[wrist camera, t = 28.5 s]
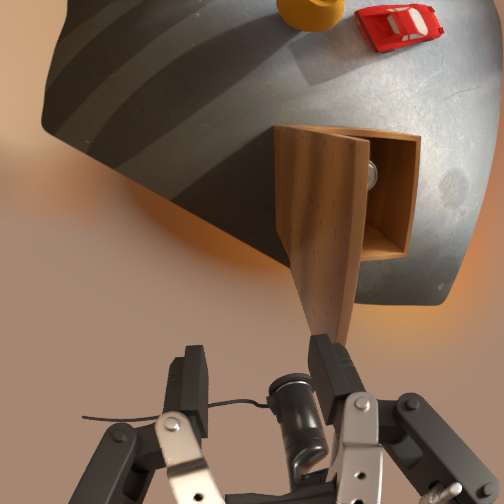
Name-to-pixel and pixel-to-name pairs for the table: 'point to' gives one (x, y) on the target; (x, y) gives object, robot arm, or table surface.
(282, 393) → the robot arm
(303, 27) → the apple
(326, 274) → the chest lid
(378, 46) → the toy car
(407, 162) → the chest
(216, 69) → the table surface
